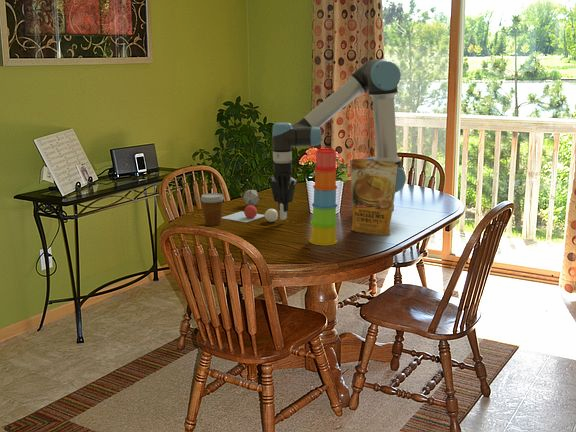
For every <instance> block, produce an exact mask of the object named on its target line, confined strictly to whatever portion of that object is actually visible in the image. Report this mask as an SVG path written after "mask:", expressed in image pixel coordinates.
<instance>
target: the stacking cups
mask: <svg viewBox="0 0 576 432" xmlns="http://www.w3.org/2000/svg"><path fill="white" fill-rule="evenodd" d="M315 152H316V153H315V155H316V156H315V167H314V168H313V169H314V185H313V186H312V189H313V203H312V204H311V206H312V220H311V221H310V225H311V233H310V234H311V237H310V238H309V243H310V244H312V245H316V246H322V247H323V246H324V247H325V246H333V245H336V244H337V243H338V240H337V239H336V237H337V236H336V234H337V233H336V231H337V226H338V221H337V220H336V219H337V207H338V204H337V201H336V200H337V189H338V186H337V170H338V168H337V167H336V166H337V165H336V164H337V161H336V159H337V154H336V153H337V152H336V150H335V149H334V148H331V147H330V148H327V147H321V148H318V149H317V150H316V151H315Z"/></svg>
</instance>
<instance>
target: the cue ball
mask: <svg viewBox="0 0 576 432" xmlns="http://www.w3.org/2000/svg"><path fill="white" fill-rule="evenodd" d="M264 215H265V216H264V218H265V220H266V221H267V222H269V223H274V222H276V221H277V220H278V217H279V213H278V211H277V210H276V209H275V208H269V209H267V210H266V211H265V212H264Z"/></svg>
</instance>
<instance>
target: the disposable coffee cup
mask: <svg viewBox="0 0 576 432" xmlns="http://www.w3.org/2000/svg"><path fill="white" fill-rule="evenodd" d="M224 199H225V198H224V196H223V194H222V193H218V192H216V193H215V192H214V193H209V192H208V193H204V194H203V193H202V194H201V197H200V202H201V205H202V210H203V216H204V217H203V218H204V224H205V225H206V226H208V225H211V226H210V227H212V225H216V226H220V225H222V218H221V217H223V216H222V215H223V206H224V205H223V204H224Z"/></svg>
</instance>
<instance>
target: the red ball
mask: <svg viewBox="0 0 576 432" xmlns="http://www.w3.org/2000/svg"><path fill="white" fill-rule="evenodd" d="M243 212H244V214H245V216H246V217H247V218H254V217H255V216H256V215H257V214H258V209H257V207H256V206H252V205H249V206H246V207H244V211H243Z"/></svg>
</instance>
